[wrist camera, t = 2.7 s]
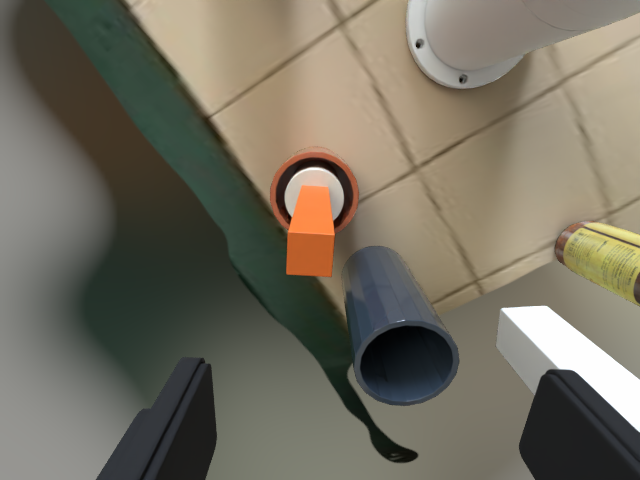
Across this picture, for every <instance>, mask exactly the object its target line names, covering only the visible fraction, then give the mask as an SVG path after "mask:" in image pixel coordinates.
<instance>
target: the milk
mask: <svg viewBox="0 0 640 480" xmlns="http://www.w3.org/2000/svg"><path fill="white" fill-rule="evenodd" d="M496 348H497V349H498V350H499V352H500V353H501V354H502V355H503V357H504V358H505V359H506V360H507V362H508V363H509V364H510V365H511V366H512V368H513V369H514V370H515V372H516V373H517V374H518V375H519V377H520V378H521V379H522V381H523V382H524V383H525V384H526V385H527V387H528V388H529V389H530V391H531V392H532V393H533V395H534V396H535V393H536V390H537V387H538V384H539V381H540V378H541V376H542V375H544V374H545V373H546V371H548V370H549V369H566V370H573V371H575V372H576V373H578V374H579V375H580V376H581V377H582V378H583V379H584V380H585V381H586V382H587V383H588V384H589V385H590V386H591V387H593V388H594V389H595V390H596V391H597V392H598V393H599V394H600V395H601V396H602V397H603V398H604V399H605V400H606V401H607V402H608V403H609V404H610V405H611V406H612V407H613V408H615V409H616V410H617V411H618V412H619V413H620V414H621V415H622V416H623V417H624V418H625V419H626V420H627V421H628V422H629V423H630V424H631V425H632V426H633V427H634V428H635V429H637V430H638V431H639V432H640V380H639V379H638V378H636V377H635V376H634V375H633V374H631V373H630V372H629V371H628V370H626V369H625V368H624V367H623V366H621V365H620V364H619V363H618V362H616V361H615V360H614V359H613V358H611V357H610V356H609V355H607V354H606V353H605V352H604V351H603V350H601V349H600V348H599V347H598V346H596V345H595V344H594V343H593V342H591V341H590V340H589V339H588V338H586V337H585V336H584V335H583V334H581V333H580V332H579V331H577V330H576V329H575V328H574V327H572V326H571V325H570V324H569V323H567V322H566V321H565V320H564V319H562V318H561V317H560V316H559V315H558V314H556V313H555V312H554V311H552V310H551V309H550V308H549V307H548V306H533V307H517V308H501V309H500V316H499V323H498V331H497V340H496Z"/></svg>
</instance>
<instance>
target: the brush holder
mask: <svg viewBox="0 0 640 480" xmlns="http://www.w3.org/2000/svg"><path fill="white" fill-rule="evenodd" d="M309 161H321V162H324V163H326V164H328V165H330V166H331V167H332V168H333V169H334V170H335V172H336V173H337V175H338V178H339V180H340V183H341V186H342V189H343V193H344V204H343V208H342V210H341V212H340V214H339V215H338V217H337V218H336V219H335V220H334V221H333V224H334V232H335V234H336V233H338V232H339V231H341V230H343V229H344V228H345V227H346V226H347V224H348V223H349V222H350V221H351V220H352V218H353V216H354V214H355V212H356V209H357V207H358V199H359V190H358V186H357V181H356V178H355V177H354V175H353V173H352V172H351V170H350V168H349V167H348V165H347V164H346V162H345V161H344V160H343V159H342V158H341V157H340V156H339V155H338V154H336V153H335V152H333V151H331V150H329V149H326V148H322V147H308V148H304V149H302V150H299V151H297V152H296V153H294V154H293V155H292V156H290V157H289V158H288V159H287V160H286V161H285V162H284V163H283V165H282V166H281V167H280V168H279V170H278V171H277V172H276V174H275V176H274V179H273V181H272V184H271V188H270V201H271V206H272V209H273V212H274V214H275V216H276V218H277V219H278V220H279V222H280V223H281V225H282V226H283V227H285V228H286V229H287V230H289V227H290V223H291V220H292V217H291V216H290V214H289V213H288V211H287V208H286V205H285V191H286V188H287V185H288V183H289V182H290V180H291V178H292V176H293V174H294V172H295V171H296V169H297V168H298V167H300V166H301V165H302V164H304V163H306V162H309Z"/></svg>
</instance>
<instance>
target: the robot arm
mask: <svg viewBox="0 0 640 480" xmlns="http://www.w3.org/2000/svg"><path fill="white" fill-rule="evenodd" d="M639 12H640V0H409V1H408V4H407V12H406V36H407V41H408V46H409V49H410V51H411V54H412V56H413V58H414V60H415V62H416V63H417V65H418V66H419V68H420V69H421V70H422V71H423V72H424V73H425V74H426V75H427V76H428V77H429V78H430V79H432V80H434V81H435V82H437V83H438V84H441V85H444V86H446V87H449V88H457V89H467V88H475V87H479V86H483V85H486V84H488V83H491V82H493V81H495V80H497V79H498V78H500V77H502V76H503V75H505V74H506V73H508V72H509V71H510V70H511V69H512V68H513V67H514V66H515V65H517V63H518V62H519V61H520V60H521V59H522V58H523V57H524V55H525V54H526V53H528V52H531V51H534V50H537V49H540V48H543V47H546V46H548V45H551V44H554V43H557V42H560V41H563V40H566V39H569V38H572V37H574V36H577V35H580V34H583V33H586V32H589V31H592V30H595V29H598V28H601V27H603V26H606V25H609V24H612V23H614V22H617V21H620V20H623V19H625V18H628V17H630V16H633V15H635V14H637V13H639ZM416 43H418V44H420V48H416ZM459 78H462V82H461V83H460V82H459ZM216 440H217V432H216V420H215V408H214V395H213V382H212V370H211V365H210V364H205V360H204V358H188V357H183V358H181V359H180V361H179V362H178V364H177V366H176V367H175V369H174V371H173V373H172V374H171V376H170V378H169V379H168V381H167V382H166V384H165V386H164V388H163V389H162V391H161V393H160V394H159V396H158V398H157V399H156V401H155V403H154V404H153V406H152V408H151V409H142V410H141V411H140V412H139V413H138V414H137V416H136V417H135V419H134V420H133V422H132V423H131V425H130V426H129V428H128V430H127V431H126V433H125V434H124V436H123V438H122V439H121V441H120V442H119V444H118V445H117V447H116V449H115V450H114V452H113V454H112V455H111V457H110V458H109V460H108V461H107V463H106V464H105V466H104V468H103V469H102V471H101V473H100V474H99V476H98V477H97V479H96V480H205V478H206V476H207V472H208V469H209V465H210V463H211V460H212V457H213V454H214V450H215V446H216ZM519 450H520V454H521V457H522V459H523V460H524V462H525V464H526V465H527V467H528V468H529V470H530V472H531V473H532V475H533V477H534V478H535V480H640V432H639V431H638V430H637V429H635V428H634V427H633V426H632V425H631V424H630V423H629V422H628V421H627V420H626V419H625V418H624V417H623V416H622V415H621V414H620V413H619V412H618V411H617V410H616V409H615V408H613V407H612V406H611V405H610V404H609V403H608V402H607V401H606V400H605V399H604V398H603V397H602V396H601V395H600V394H599V393H598V392H597V391H596V390H595V389H594V388H593V387H591V386H590V385H589V384H588V383H587V382H586V381H585V380H584V379H583V378H582V377H581V376H580V375H579V374H578V373H576V372H575V371H573V370H566V369H549V370H548V371H546V373H545V374H544V375H542V376H541V378H540V381H539V384H538V387H537V390H536V393H535V397H534V399H533V403H532V406H531V409H530V412H529V415H528V418H527V421H526V424H525V427H524V430H523V434H522V437H521V440H520V443H519Z"/></svg>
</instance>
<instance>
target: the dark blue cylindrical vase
mask: <svg viewBox="0 0 640 480" xmlns="http://www.w3.org/2000/svg"><path fill="white" fill-rule="evenodd" d="M342 288H343V295H344V303H345V310H346V317H347V324H348V331H349V339H350V346H351V353H352V360H353V367H354V372H355V376H356V379H357V382H358V383H359V385H360V386H361V388H362V389H363V390H364V391H365V392H366V393H367V394H368V395H369V396H371V397H373V398H374V399H375V400H377V401H380V402H383V403H386V404H389V405H400V406H409V405H414V404H419V403H423V402H425V401H427V400H430V399H432V398H434V397H436V396H437V395H439V394H440V393H441V392H442V391H443V390H445V389H446V388H447V387H448V386H449V385H450V383H451V382H452V380H453V379H454V377H455V376H456V373H457V369H458V365H459V354H458V348H457V346H456V344H455V342H454V341H453V339H452V337H451V336H450V334H449V332H448V331H447V329H446V327H445V326H444V324H443V323H442V321H441V320H440V318H439V316H438V315H437V313H436V311H435V310H434V308H433V306H432V305H431V303H430V302H429V300H428V298H427V297H426V295H425V294H424V292H423V290H422V289H421V287H420V285H419V284H418V282H417V281H416V279H415V277H414V276H413V274H412V273H411V271H410V269H409V268H408V266H407V264H406V263H405V261H404V260H403V258H402V257H401V256H400V255H399V254H398V253H397V252H395V251H394V250H392V249H390V248H387V247H383V246H370V247H366V248H363V249H361V250H359V251H357V252H356V253H354V254H353V255H352V256H351V257H350V258H349V259H348V260H347V262H346V263H345V265H344V267H343V271H342Z"/></svg>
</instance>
